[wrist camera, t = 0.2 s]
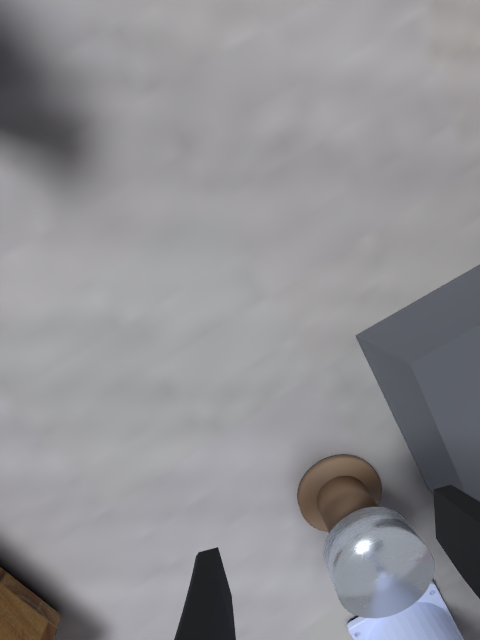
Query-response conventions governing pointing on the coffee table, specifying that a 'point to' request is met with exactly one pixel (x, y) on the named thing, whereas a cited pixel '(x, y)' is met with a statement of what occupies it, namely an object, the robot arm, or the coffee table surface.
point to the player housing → (434, 380)
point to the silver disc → (377, 563)
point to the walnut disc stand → (337, 490)
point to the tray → (24, 612)
